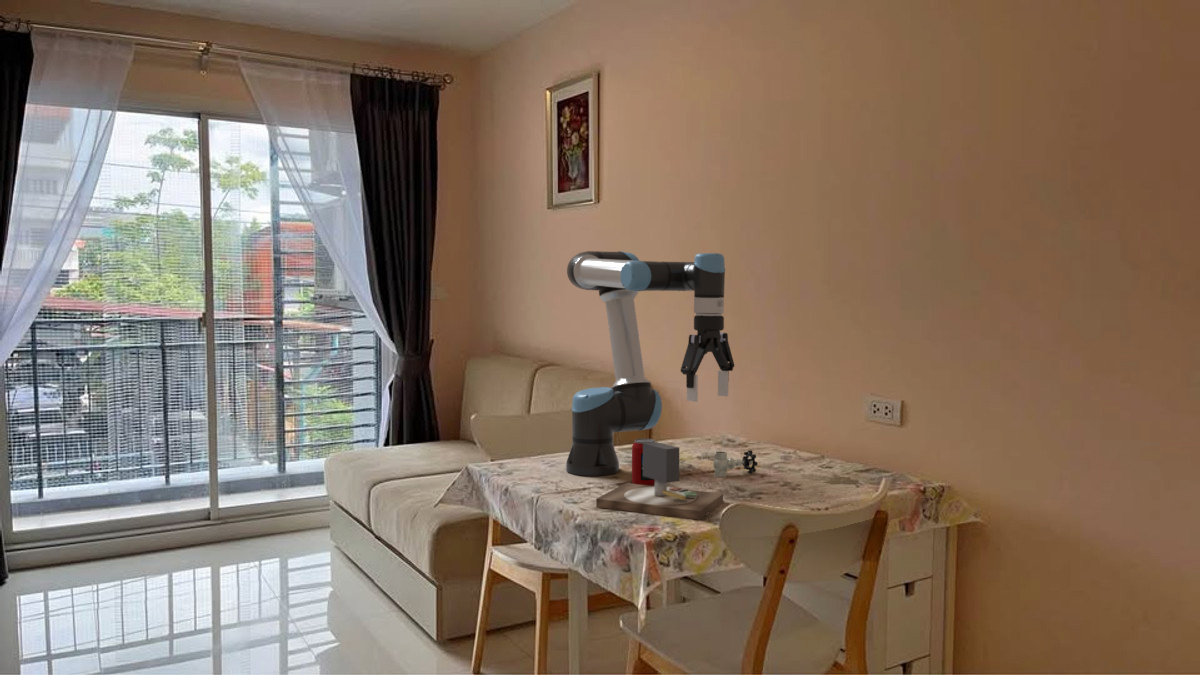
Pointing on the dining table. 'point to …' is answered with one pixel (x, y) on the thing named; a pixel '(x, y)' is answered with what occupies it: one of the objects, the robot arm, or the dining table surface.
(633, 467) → the beverage can
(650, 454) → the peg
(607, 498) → the brown wooden board
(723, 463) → the valve
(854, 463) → the dining table surface
